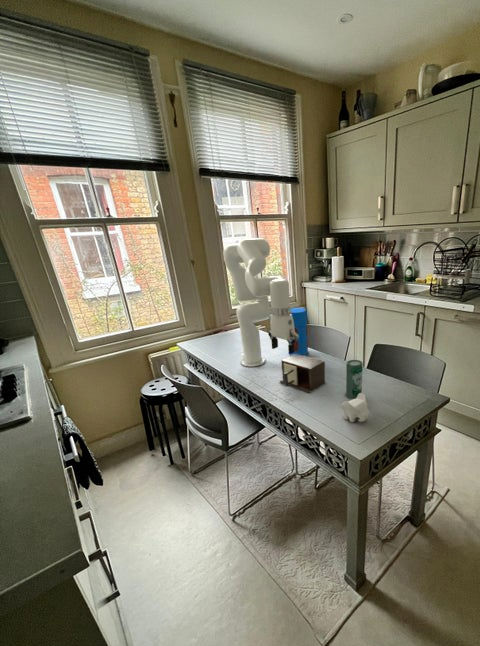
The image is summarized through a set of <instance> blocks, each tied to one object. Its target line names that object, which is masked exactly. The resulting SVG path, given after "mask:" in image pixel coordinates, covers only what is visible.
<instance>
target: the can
mask: <svg viewBox="0 0 480 646" xmlns="http://www.w3.org/2000/svg"><path fill="white" fill-rule="evenodd" d="M363 365H364V364H363V361H362V360H359V359H350V360H347V361H346V368H345V369H346V373H345V374H346V376H345V377H346V379H345V381H346V382H345V395H346V397H347V398H349V399H351V400H353V399H356V398H357V396H358V394H359V393H362V389H363Z"/></svg>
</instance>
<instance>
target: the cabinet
mask: <svg viewBox="0 0 480 646" xmlns="http://www.w3.org/2000/svg"><path fill="white" fill-rule="evenodd" d="M284 363H286V364H289V365H292V366H296V367H297V381H298V385H295V384H292V383H291V384H289V385H288V386H287V387H290V388H293V389H297V390H300V391H302V392H305V393H307V394H311V393H312V392H314V391H315V390H317V389H318V388H320V387H322V386H323V385H325V384H326V361H325V360H321V359H318V358H313V357H310V356H307V355H305V356H303V355H299V354H294V355H290V356H288V357H285V358H283V359H281V372H282V373H281V375H282V379H280V380H279V381H280V384H281V385H285V379H284Z"/></svg>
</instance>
